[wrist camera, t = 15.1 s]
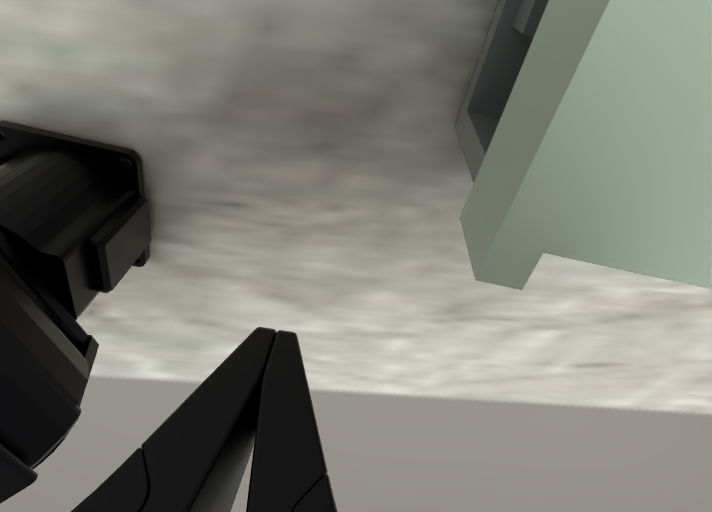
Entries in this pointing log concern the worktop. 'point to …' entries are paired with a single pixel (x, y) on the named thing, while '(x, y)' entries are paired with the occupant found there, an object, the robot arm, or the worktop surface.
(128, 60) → the worktop surface
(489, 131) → the housing
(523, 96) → the lid
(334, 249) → the worktop surface
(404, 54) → the worktop surface
